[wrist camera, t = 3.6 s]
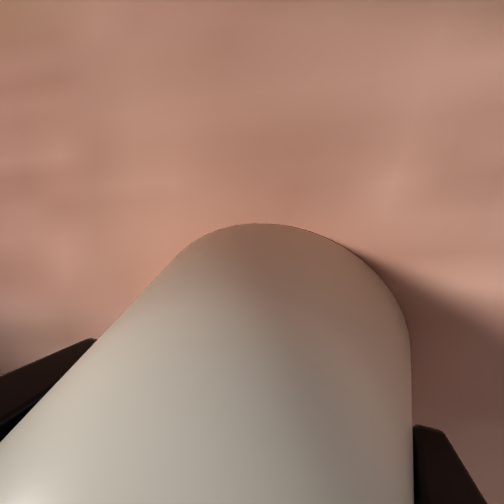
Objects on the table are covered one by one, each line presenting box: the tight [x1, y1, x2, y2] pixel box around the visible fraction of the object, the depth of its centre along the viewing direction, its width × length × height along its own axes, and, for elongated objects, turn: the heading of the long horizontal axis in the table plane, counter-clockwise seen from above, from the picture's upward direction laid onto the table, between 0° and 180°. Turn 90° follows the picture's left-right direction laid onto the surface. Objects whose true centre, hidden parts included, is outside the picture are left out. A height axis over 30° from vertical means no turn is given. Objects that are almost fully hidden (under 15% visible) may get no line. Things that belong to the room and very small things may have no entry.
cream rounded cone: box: [0, 223, 414, 504], centre depth 6 cm, size 5×5×6 cm
